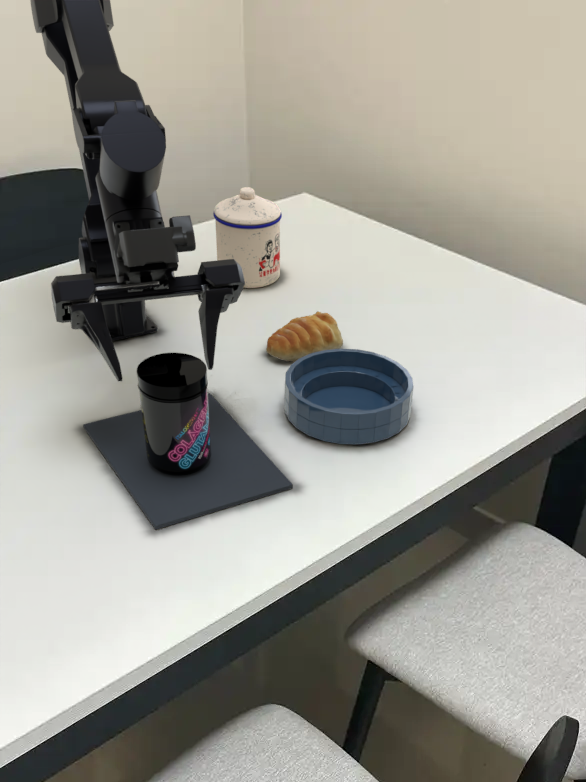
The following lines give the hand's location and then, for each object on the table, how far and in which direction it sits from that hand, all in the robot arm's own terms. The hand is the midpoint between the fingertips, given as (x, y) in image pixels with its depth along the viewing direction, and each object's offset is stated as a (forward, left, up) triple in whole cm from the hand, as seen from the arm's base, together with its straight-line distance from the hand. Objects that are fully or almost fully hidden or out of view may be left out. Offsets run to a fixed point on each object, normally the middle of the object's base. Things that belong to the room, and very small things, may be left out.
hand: (166, 374), depth 97 cm
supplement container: (+3, -1, -8) cm, 9 cm away
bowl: (+3, +20, -8) cm, 22 cm away
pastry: (-12, +23, -9) cm, 28 cm away
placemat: (+3, 0, -8) cm, 9 cm away
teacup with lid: (-35, +27, -9) cm, 46 cm away
